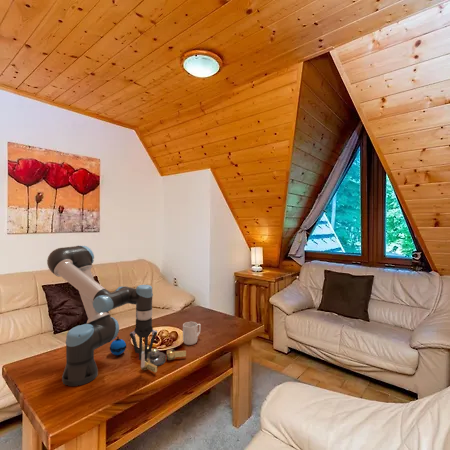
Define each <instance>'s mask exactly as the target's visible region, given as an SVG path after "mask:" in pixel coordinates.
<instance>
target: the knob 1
mask: <svg viewBox="0 0 450 450" xmlns="http://www.w3.org/2000/svg"><path fill="white" fill-rule="evenodd" d="M149 346H150V345H148V348H149ZM143 351H145V344H143V343H142V352H143ZM148 353H150V352H148ZM148 353H147V354H148Z"/></svg>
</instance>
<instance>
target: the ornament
mask: <svg viewBox="0 0 450 450" xmlns="http://www.w3.org/2000/svg"><path fill="white" fill-rule="evenodd" d="M110 343H111V344H110V346H109V351H110V353H111V354H112V355H114V356H120V355H122V354H124V352H125V351H126V349H127V343H126V341H125V340H124V339H122V338H121V339H120V338H119V336H117V337H116V338H115V339H113V340H112V341H111V342H110Z"/></svg>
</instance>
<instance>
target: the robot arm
mask: <svg viewBox="0 0 450 450" xmlns="http://www.w3.org/2000/svg"><path fill="white" fill-rule="evenodd" d="M94 261H95V255H94V252H93V250H92V249H91V248H90V247H89V246H86V245H75V246H65V247H58V248H56V249H54V250H52V251H51V252H50V253H49V255H48V257H47V259H46V263H47V268H48V270H49V271H50V272H51V273H52V274H53V275H55V276H56V277H61V278H62V279H63V280H65V281H66V282H67V283H68V284H70V285H71V286H72V287H74V288H75V289H76V290H78V293H79V295H80V299H81V301H82V304H83V308H84V310H85V313H86V316H87V321H86V323H84V324H81V325H80V324H79V325H76V326H74V327H72V328H71V329H69V330H68V332H67V333H66V335H65V338H66V340H65V345H66V347H65V350H66V353H65V356H66V357H65V359H66V362H65V367H64V371H63V373H62V376H61V383H62V382H63V383H62V384H63V385H64V384H65V385H64V386H66V385H68V386H67V387H79V386H83V385H86V384H88V383H91V382H92V381H94V380H95V379H96V378H97V377H98V374H99V369H98V366H97V363H96V360H95V352H94V351H95V350H97V349H98V348H101V347H102V346H104V345H106V344H108V343H112V342H113V341H114V340H116V339H117V337H118V335H119V332H120V325H119V322H118V320H117V318H115V317H113V316H111V314H110V313H109V312H110V311H111V310H114V309H117V308H120V307H122V306H125V305H127V304H130V305H135V328H134V330H133V331H130V333H129V337H130V339H131V341H132V343H133V349H134V353H135V354H138V360H139V361H140V369H141V368H142V367H145V360H147V353H148V352H151V350H152V349H153V345H154V341H155V338H156V336H157V334H158V330H155V329H154V327H153V298H154V297H153V296H154V294H153V293H154V292H153V287H152V285H150V284H140V285H139V284H138V286H136V288H135V287H131V286H130V287H129V286H118V287H117V288H116V289H115V290H114V291H110V290H108V289H106V288H105V287H104V286H102V285H101V284H100V283H99V282H98V281H96V280H95V278H94V275H93V273H92V268H93V264H94ZM150 335H151V339H150V344H149V342H148V341H149V339H148V338H149V336H150ZM136 336H137V337H139V338H138V343H139V344H138V343H137V338H136ZM143 338H144V345H145V351H142V344H143ZM148 344H149V345H148ZM138 346H139V347H138ZM148 346H149V348H148ZM78 385H79V386H78Z"/></svg>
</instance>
